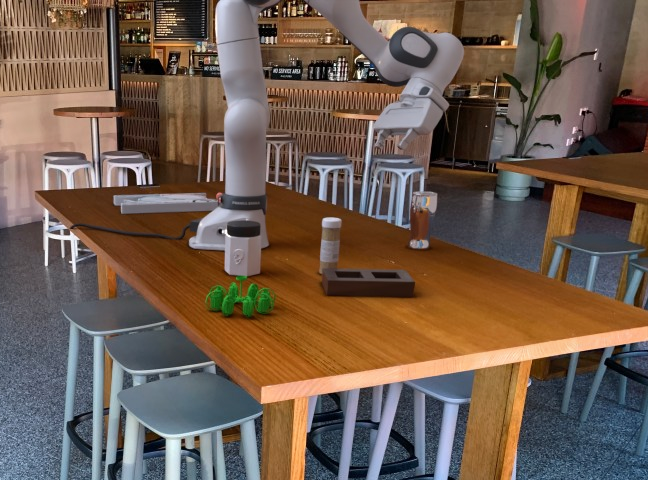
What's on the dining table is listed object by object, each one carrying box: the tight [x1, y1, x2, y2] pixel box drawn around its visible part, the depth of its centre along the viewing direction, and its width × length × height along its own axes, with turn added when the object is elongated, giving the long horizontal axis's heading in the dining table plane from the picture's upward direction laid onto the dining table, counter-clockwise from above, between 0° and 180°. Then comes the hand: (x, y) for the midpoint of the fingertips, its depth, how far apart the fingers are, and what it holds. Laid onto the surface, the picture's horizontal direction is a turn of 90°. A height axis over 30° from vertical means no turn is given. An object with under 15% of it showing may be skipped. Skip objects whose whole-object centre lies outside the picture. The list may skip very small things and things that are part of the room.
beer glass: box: [407, 190, 438, 251], centre depth 218 cm, size 7×7×15 cm
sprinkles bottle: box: [318, 217, 343, 275], centre depth 191 cm, size 5×5×13 cm
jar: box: [224, 220, 262, 278], centre depth 192 cm, size 9×8×12 cm
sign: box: [113, 192, 219, 215], centre depth 278 cm, size 34×3×20 cm
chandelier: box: [205, 276, 276, 318], centre depth 164 cm, size 15×15×7 cm
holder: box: [321, 268, 416, 298], centre depth 180 cm, size 11×19×4 cm, turn 88°
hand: (388, 148), depth 193 cm, fingers open, 8 cm apart
